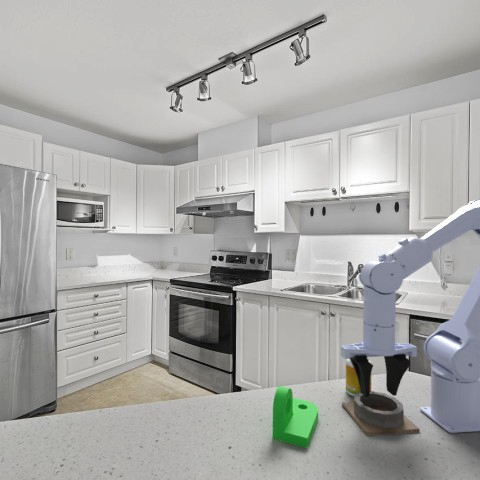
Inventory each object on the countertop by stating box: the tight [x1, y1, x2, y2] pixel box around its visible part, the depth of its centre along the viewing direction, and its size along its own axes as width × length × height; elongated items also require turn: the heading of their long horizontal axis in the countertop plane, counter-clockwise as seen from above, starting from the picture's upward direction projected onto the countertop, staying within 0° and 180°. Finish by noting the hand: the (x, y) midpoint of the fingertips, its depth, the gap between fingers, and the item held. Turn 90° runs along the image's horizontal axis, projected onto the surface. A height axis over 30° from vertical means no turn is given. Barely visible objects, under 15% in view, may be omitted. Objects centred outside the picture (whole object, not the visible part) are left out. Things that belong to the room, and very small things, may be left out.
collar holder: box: [341, 390, 421, 436], centre depth 61 cm, size 10×10×3 cm
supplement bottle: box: [345, 357, 372, 398], centre depth 71 cm, size 5×5×10 cm
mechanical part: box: [272, 385, 319, 449], centre depth 58 cm, size 12×6×8 cm, turn 155°
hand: (378, 393), depth 61 cm, fingers open, 5 cm apart
